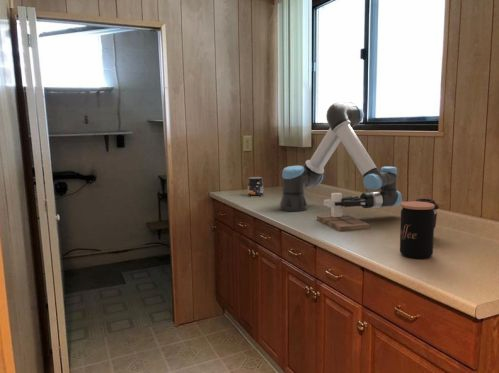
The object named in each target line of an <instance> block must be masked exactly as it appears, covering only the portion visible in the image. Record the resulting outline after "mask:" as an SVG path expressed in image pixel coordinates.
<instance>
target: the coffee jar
mask: <svg viewBox="0 0 499 373" xmlns="http://www.w3.org/2000/svg"><path fill="white" fill-rule="evenodd" d="M400 205H401V207H402V208H401V210H400V233H399V235H400V236H399V252H400V253H401V255H402V256H403V257H405V258H408V259H413V260H428V259H430V258H431V257H432V255H433V254H434V237H433V235H434V236H435V230H434V211H433V209H434V207H435V205H434V204H432V203H428V202H419V201H416V200H415V201H413V200H412V201H402V202H401V203H400Z"/></svg>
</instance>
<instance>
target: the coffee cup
mask: <svg viewBox="0 0 499 373" xmlns="http://www.w3.org/2000/svg"><path fill="white" fill-rule="evenodd" d="M415 201H419V202H428V203H432V204H434V205H435V207H434V209H433V211H434V231H436V229H435V228H436V226H437V216H438V212H437V211H438V209H439V208H440V206H439V204H438V203H436V201H435V200H434V199H431V198H418V199H417V198H416V199H415ZM434 236H435V234H434V235H433V238H434Z"/></svg>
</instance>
